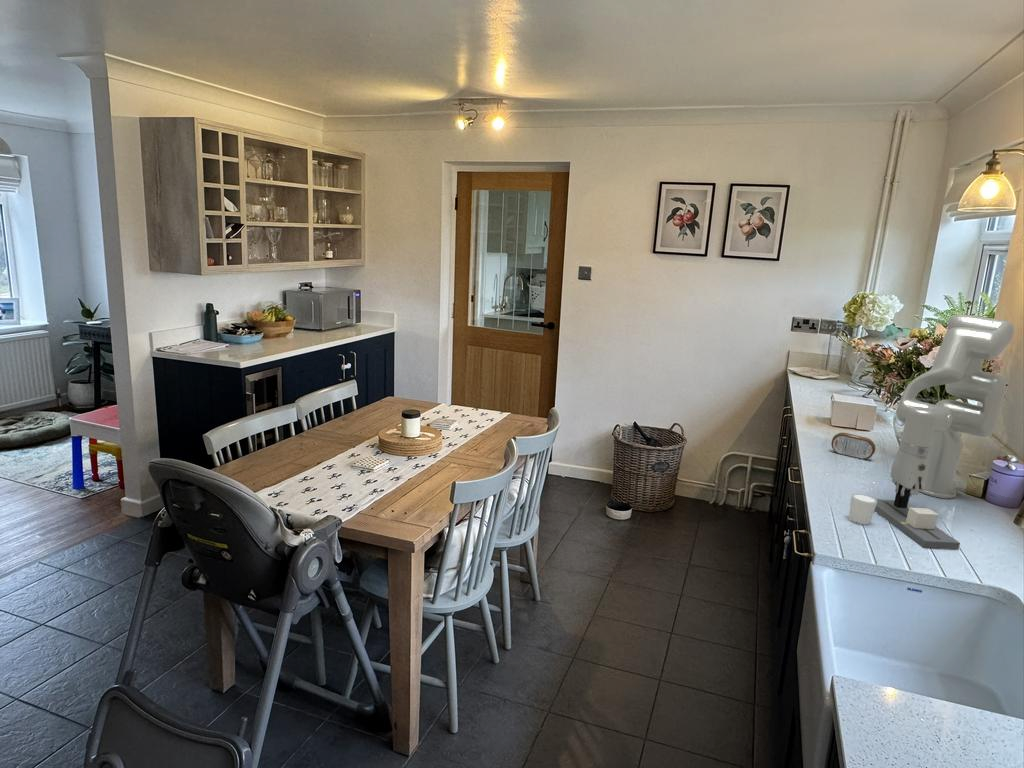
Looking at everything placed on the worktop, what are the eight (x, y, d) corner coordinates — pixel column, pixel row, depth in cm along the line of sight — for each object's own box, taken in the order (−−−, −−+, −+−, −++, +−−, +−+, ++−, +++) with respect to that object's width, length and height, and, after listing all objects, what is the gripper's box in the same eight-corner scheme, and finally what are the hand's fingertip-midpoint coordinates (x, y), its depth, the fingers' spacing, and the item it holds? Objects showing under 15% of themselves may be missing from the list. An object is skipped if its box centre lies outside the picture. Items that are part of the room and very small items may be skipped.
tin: (872, 460, 257) (877, 439, 255) (872, 462, 254) (876, 441, 252) (830, 450, 264) (834, 429, 262) (828, 452, 262) (833, 431, 260)
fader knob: (905, 521, 196) (909, 507, 195) (925, 522, 196) (929, 508, 195) (914, 528, 192) (918, 513, 191) (934, 529, 193) (938, 514, 192)
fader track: (865, 504, 212) (866, 498, 212) (895, 506, 213) (897, 500, 212) (923, 547, 185) (925, 540, 185) (958, 549, 186) (960, 542, 185)
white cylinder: (870, 518, 202) (875, 496, 200) (874, 527, 196) (879, 504, 194) (845, 513, 204) (850, 491, 202) (848, 522, 198) (853, 499, 196)
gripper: (943, 458, 192) (928, 518, 197) (909, 441, 207) (896, 497, 211) (918, 457, 192) (903, 517, 196) (886, 439, 206) (873, 496, 211)
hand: (900, 506), depth 204 cm, fingers closed
